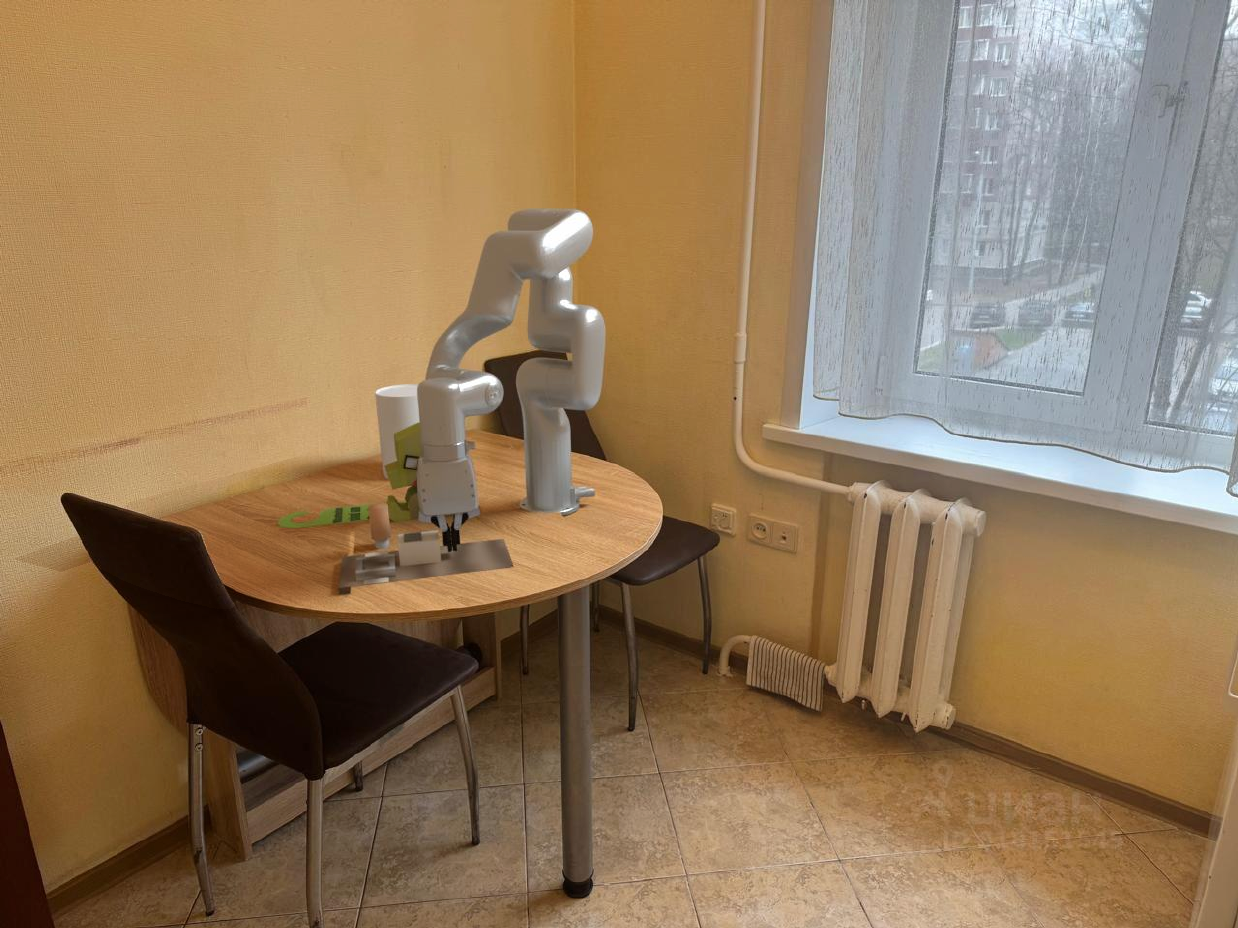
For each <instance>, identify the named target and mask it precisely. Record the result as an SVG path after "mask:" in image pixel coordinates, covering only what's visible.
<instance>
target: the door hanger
mask: <svg viewBox="0 0 1238 928" xmlns="http://www.w3.org/2000/svg"><path fill="white" fill-rule="evenodd" d="M397 501H398V500H397ZM398 502H404V501H402V500H399V501H398ZM383 503H384V504H387V502H383ZM372 504H373V503H370V504H359V505H350V506H340V507H329V508H326V509H324V510H322V511H321V512H320V514H319V515H318V516H317V518H316V519H315V520H312V521H308V522H293V521H292V520H293V519H294V518H295V517H299V516H303V515H307V514H308V513H309V511H307V510H301V511H300V510H299V511H297V512H292V513H288V514H286V515H283V516H282V517H280V518H279V519H278V521H277V525H278V526H279V527H280V528H282V529H283V528H285V529H286V528H287V529H302V528H303V529H304V528H309V527H310V528H311V527H320V526H329V525H337V524H338V525H339V524H340V525H341V524H346V523H347V524H348V523H358V522H366V521H370V518H369V509H368V507H369V506H370V505H372Z"/></svg>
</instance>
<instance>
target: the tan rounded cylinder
mask: <svg viewBox="0 0 1238 928" xmlns="http://www.w3.org/2000/svg"><path fill="white" fill-rule="evenodd" d="M384 503H385V502H380V503H379V502H378V503H371V504H372V505H370V506H369V507H368V509H369V518H370V520H369V524H370V525H369V527H370V533H371V534H370V535H371V540H373V541H374V544H375V545H374V546H375V548H376V549H378V550H383V549H387V548H388V547H389V546H390V545H389V544H390V542H389V541H390V540H389V539H390V538H391V537H392V534H391V525H390V523H391V522H390V519H389V513H388V505H387V504H384Z"/></svg>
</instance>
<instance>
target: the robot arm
mask: <svg viewBox="0 0 1238 928" xmlns="http://www.w3.org/2000/svg"><path fill="white" fill-rule="evenodd" d="M593 237H594V227H593V224H592V221H591V219H590V217H589V216H588V214H587V213H585V212H584V211H582V210H581V209H576V208H575V209H574V208H526V209H525V208H524V209H520V210H517V211H515V212H513V213H512V215H511V214H510V216H509V218H508V221H507V230H501V231H497V232H494V233H492V234H490V235H488V237H487V238H486V240H485V242H484V244H483V246H482V250H481V252H480V253H481V254H480V257H479V262H478V264H477V269H476V272H475V275H474V279H473V283H472V287H471V291H470V295H469V297H468V302H467V305H466V308H465V310H463V312H462V313H460V315H458V317H456V318H455V319H454V321H453V322H452V321H451V323H450V324H449V326H448V327H447V328H446V330H444V331H443V332H442V334H441V335H440V336H439V338H438V339H437V341H436V342H435V344H434V346H433V349H432V351H431V355H430V358H429V361H428V366H427V368H426V373H425V379H424V380H422V381H420V382H419V383H418V384H419V385H418V387H417V399H418V410H419V421H420V433H421V445H422V457H420V458H419V459H418V466H417V491H418V503H419V508H420V509H419V514H418V519H417V520H418V522H419V521H420V522H423V523H432V524H433V525H435V527H437V528H439V529H440V531H441V536H442V546H447V549H448V552H451V551H452V548H453V551H457V545H460V544H461V534H460V530H461V529H462V526H463V525H464V524H465V523H466V522H467V521H468V519H473V518H475V517H478V516H480V515H481V510H480V508H479V494H478V487H477V480H476V472H475V467H474V463H473V459H472V455H471V454H470V453H468V452H469V451H471V450H476V443H475V441H470V440H468V439H467V437H466V435H467V434H466V425H465V424H466V422H465V419H466V418H467V417H475V416H482V415H483V416H484V415H488V414H490V413H492V412H494V411H495V410H497V408H498V407H499V406H500V405H501V403H502V401H503V400H504V399H503V397H504V386H503V384H502V382H501V380H500V378H498V377H497V376H495V375H494V374H492V373H489V372H486V371H481V370H472V369H471V370H470V369H465V368H459V367H460V365H461V362H462V360H463V359H464V356H465V355H466V354H467V352H468V351H469V350H470V349H471V348H472V347H473V346H475V344H477V343H478V342H480V341H482V340H483V339H485V338H487V337H490V336H492V335H494V334H497V333H498V332H501V331H502V330H505V329H507V328H508V327H510V326H511V324H513V322H514V320H515V316H516V315H515V314H516V311H517V306H518V303H519V299H520V297H521V292H522V289H523V285H524V282H525V281H526V280H529V297H528V298H529V299H528V310H527V311H528V312H527V328H526V329H527V339H528V343H529V344H530V345H531V346H532V347H533V348H535V349H538V350H541V351H546V352H555V353H563V354H571V360H569V359H562V358H550V357H534V358H530V359H527V360H525V361H524V362H523V363H522V364H521V365H520V366H519V367H518V370H517V373H516V377H515V378H516V379H515V384H516V391H517V395H518V399H519V403H520V408H521V412H522V413H521V414H522V415H521V416H522V424H523V426H522V427H523V445H524V446H523V447H524V465H525V466H524V468H525V487H526V488H525V490H526V496H525V497H524V498H523V499H521V500H519V501H520V502H519V509H521V510H522V509H524V510H525V511H528V512H533V513H538V514H555V513H560V515H561V516H566V515H570V514H572V513H573V514H574V513H575V512H576V511H577V510H579V508H580V505H581V503H580V502H581V501H580V500H581V498H591V497H592V498H593V497H595V492H596V491H595V488H594V487H587V486H586V485H580V486H575V485H574V484H573V482H572V481H573V478H572V475H573V474H572V447H571V445H572V444H571V442H572V441H571V425H570V419H569V417H568V416H567V413H566V411H565V409H566V410H575V411H589V410H591V409H593V408H594V407H595V406H596V405H597V403H598V402H599V400H600V396H601V393H602V386H603V379H604V378H603V377H604V376H603V375H604V365H605V363H604V362H605V352H606V340H607V339H606V335H607V334H606V333H607V332H606V331H607V330H606V329H607V328H606V323H605V320H604V317H603V315H602V313H601V312H600V311H599V309H597V308H595V307H594V306H591V305H587V304H577V303H576V304H575V303H573V293H574V290H573V289H574V279H573V274H572V271H571V269H570V266H571V265H573V264H574V263H575V262H577V261H578V260H579V259H580V258H582V257H583V256H584V255H585V254H586V253H587V251H588V250H589V248H590V246H591V244H592V241H593ZM450 514H453V516H452V522H451V525H450V526H449V522H447V520H446V516H445V515H450Z"/></svg>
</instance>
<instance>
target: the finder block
mask: <svg viewBox="0 0 1238 928" xmlns="http://www.w3.org/2000/svg"><path fill="white" fill-rule="evenodd" d="M440 542H441V541H440V534H439V530H428V531H419V532H408V533H400V534H397V546H398V551H399V559H400V566H408V565H417V564H426V563H435V562H441V553H440V546H441V543H440Z"/></svg>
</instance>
